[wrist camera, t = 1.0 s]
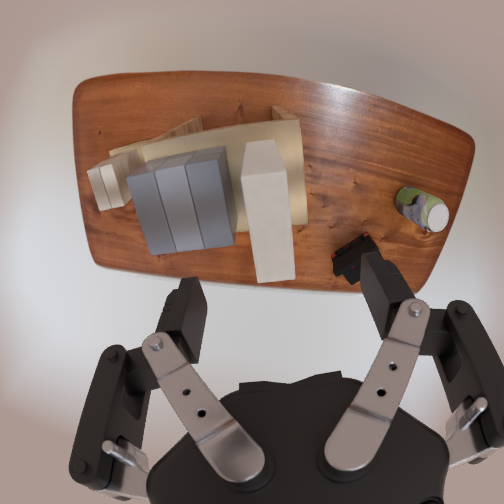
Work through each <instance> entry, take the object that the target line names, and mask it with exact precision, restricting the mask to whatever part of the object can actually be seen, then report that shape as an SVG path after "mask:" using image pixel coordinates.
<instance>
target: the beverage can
mask: <svg viewBox="0 0 504 504" xmlns="http://www.w3.org/2000/svg"><path fill="white" fill-rule="evenodd" d="M395 205H396V209H397V211H398V212H399V213H400V214H401V215H403V216H405V217H406V218H408V219H409V220H411V221H412V222H414V223H416V224H417V225H419V226H420V227H422V228H423V229H425V230H426V231H428V232H439V231H441V230H442V229H444V227H445V226H446V224H447V222H448V219H449V211H448V209H447V207H446V205H445V203H444V202H443V201H442V200H441V199H439V198H436V197H434V196H432V195H430V194H428V193H425V192H423V191H421V190H419V189H416V188H414V187H411V186H406V187H404V188H402V189H401V190H400V191H399V192H398V194H397V196H396V200H395Z"/></svg>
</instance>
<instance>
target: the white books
mask: <svg viewBox="0 0 504 504" xmlns="http://www.w3.org/2000/svg"><path fill="white" fill-rule="evenodd" d="M152 139H154V138H152ZM152 139H148V140H144V141H140V142H137V143H133V144H129V145H126V146H122V147H119V148H116V149H112V150H110V151H109V153H110V157H109V158H108V159H106V160H104V161H103V162H101V163H99V164H98V165H96V166H94V167H93V168H91V169H90V170H88V171H87V173H88V177H89V180H90V183H91V186H92V189H93V192H94V195H95V198H96V201H97V204H98V207H99V210H100V211H102V210H107V209H111V208H116V207H121V206H125V205H126V203H127V202H128V201H129V200H130V199H131V198H132V197H131V193H130V190H129V187H128V183H127V180H126V178H127V177H128V176H129V175H130V174H132V173H133V172H134V171H135V170H137V169H138V168H139V167H140V166H142V165H143V164H144V163H145V159H144V156H143V151H142V147H141V146H142V145H144V144H145V143H147V142H149V141H150V140H152Z"/></svg>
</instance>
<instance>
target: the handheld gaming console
mask: <svg viewBox="0 0 504 504" xmlns="http://www.w3.org/2000/svg"><path fill="white" fill-rule="evenodd" d="M378 250H379V249H378V247H377V245H376V244H375V243H374V241H373V240H372V237H371V236H370V235H369V233H368V232H367V233H365V234H364V235H363V234H362V235H360V236H359V237H357V238H356V239H354V240H353V241H351V242H350V243H348V244H347V245H345V246H343V247H342V248H340V249H339V250H337V251H336V252H335V254H333V255H331V258H332V262H333V273H334V274H335V276H336V277H337V276H339V275H341V274H343V275H344V276H345V278H346V279H347V280H348V282H349V283H350V284H351V285H353V284H355V283H356V282H358V281H360V273H361V256H362V254H363V253H370V252H376V251H377V252H378V253H379V251H378ZM379 255H380V256H381V254H380V253H379ZM381 258H382V256H381ZM382 260H383V258H382ZM383 261H384V260H383Z"/></svg>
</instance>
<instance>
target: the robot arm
mask: <svg viewBox="0 0 504 504" xmlns="http://www.w3.org/2000/svg"><path fill="white" fill-rule="evenodd" d="M360 285H361V289H362V292H363V295H364V297H365V299H366V302H367V304H368V307H369V309H370V312H371V314H372V316H373V319H374V321H375V324H376V327H377V329H378V332H379V334H380V337H381V340H384V341H383V343H382V345H381V347H380V350H379V352H378V354H377V356H376V358H375V360H374V363H373V364H372V366H371V368H370V370H369V372H368V374H367V376H366V378H365V380H364V382H361V381H359V380H356V379H352V378H343V377H342V374H341V371H335V372H329V373H324V374H318V375H314V376H311V377H308V378H306V379H303V380H300V381H297V382H295V383H292V384H286V383H276V382H268V381H259V382H246V383H239V390H237V391H234V392H232V393H230V394H228V395H226V396H224V397H223V398H221V399H220V400H218V399H217V398H216V397H215V395H214V394H213V393H212V392H211V390H210V389H209V388H208V386H207V385H206V384H205V383H204V381H203V380H202V379H201V377H200V376H199V375H198V373H197V372H196V371H195V369H194V368H193V367H192V365H191V364H196V363H198V361H199V356H200V350H201V344H202V338H203V332H204V327H205V321H206V316H207V302H206V299H205V296H204V293H203V290H202V287H201V285H200V282H199V279H198V278H197V277H189V278H182V279H181V282H180V285H179V288H178V289H174V290H173V291H172V292H171V293H170V294H169V295H168V296H167V299H166V302H165V306H164V308H163V312H162V313H161V316H160V319H159V322H158V325H157V328H156V331H155V333H153V334H151V335H149V336H148V337H147V338H146V339H145V340H144V341H143V344H142V346H141V347H138V348H135V349H132V350H128V351H126V350H125V348H124V347H123V346H122V345H112V346H110V347H108V348H107V349H105V350H104V352H103V353H102V354H101V357H100V359H99V362H98V365H97V368H96V371H95V374H94V377H93V380H92V383H91V386H90V389H89V392H88V395H87V398H86V402H85V405H84V408H83V411H82V415H81V418H80V422H79V426H78V429H77V433H76V437H75V441H74V445H73V449H72V453H71V457H70V462H69V473H70V475H71V477H72V479H74V480H75V481H76V482H78V483H80V484H82V485H84V486H86V487H88V488H89V489H91V490H93V491H96V492H98V493H100V494H103V495H105V496H108V497H113V498H115V499H118V500H121V501H127V500H129V499H131V498H133V499H138V500H144V501H150V503H151V504H444V501H443V491H444V484H445V479H446V475H447V471H448V470H451V469H453V468H455V467H458V466H461V465H463V464H465V463H469V464H478V463H480V462H482V461H483V460H485V459H486V458H488V457H489V456H491V455H492V454H493V453H495V452H496V451H498V450H499V449H501V448H502V447H503V446H504V366H503V364H502V362H501V360H500V358H499V355H498V353H497V351H496V350H495V348H494V346H493V344H492V342H491V340H490V338H489V336H488V334H487V332H486V330H485V329H484V327H483V325H482V323H481V322H480V320H479V318H478V316H477V315H476V313H475V311H474V310H473V308H472V307H471V305H469V304H468V303H467V302H465V301H461V300H455V301H452V302H450V303H449V304H448V306H447V309H431V308H429V306H428V305H427V304H426V303H425V302H424V301H422V300H420V299H416V298H415V296H414V294H413V293H412V291H411V289H410V287H409V286H408V284H407V283H406V281H405V279H404V278H403V276H402V274H400V271H399V270H398V268H397V266H396V265H395V264H393V263H392V262H390V261H389V260H385V261H383V260H382V258H381V256H380V255H379V253H378V252H377V251H376V252H370V253H363V254H362V256H361V273H360ZM418 355H429V356H433V359H434V362H435V364H436V367H437V369H438V373H439V375H440V378H441V381H442V384H443V387H444V390H445V393H446V396H447V399H448V402H449V406H450V409H451V412H452V414H451V416H450V417H449V418H448V420H447V423H446V438H445V440H444V439H443V438H442V437H441V436H440V435H439V434H438V433H436V432H435V431H433V430H432V429H431V428H429V427H428V426H426V425H425V424H423V423H422V422H420V421H419V420H417V419H416V418H414V417H413V416H412V415H410V414H409V413H407V412H406V411H404V410H403V409H401V408H400V407H399V404H400V402H401V399H402V397H403V394H404V392H405V390H406V387H407V385H408V382H409V379H410V377H411V374H412V371H413V369H414V366H415V363H416V360H417V357H418ZM158 388H161V389H162V390H163V392H164V394H165V396H166V397H167V399H168V401H169V402H170V404H171V406H172V407H173V409H174V410H175V412H176V414H177V415H178V417H179V418H180V420H181V421H182V423H183V425H184V426H185V427H186V429H187V431H188V432H187V434H185V435H184V437H182V439H181V440H180V441H179V442H178V443H177V444H175V445H174V447H172V448H171V449H170V450H169V451H168V452H167V453H166V454H165V455H164V456H163V457H162V458H161V459H160V460H159V461H158V462H157V463H156V464H155V465H154V466H153V467H152V469H151V470H149V467H148V458H147V456H146V454H145V453H144V452H143V451H141V447H142V441H143V434H144V428H145V422H146V415H147V410H148V404H149V398H150V394H151V390H154V389H158Z"/></svg>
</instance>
